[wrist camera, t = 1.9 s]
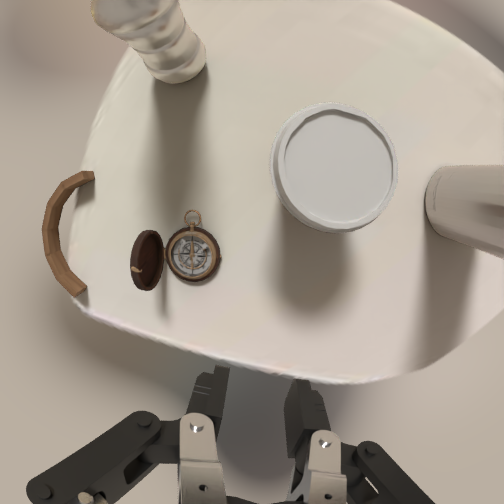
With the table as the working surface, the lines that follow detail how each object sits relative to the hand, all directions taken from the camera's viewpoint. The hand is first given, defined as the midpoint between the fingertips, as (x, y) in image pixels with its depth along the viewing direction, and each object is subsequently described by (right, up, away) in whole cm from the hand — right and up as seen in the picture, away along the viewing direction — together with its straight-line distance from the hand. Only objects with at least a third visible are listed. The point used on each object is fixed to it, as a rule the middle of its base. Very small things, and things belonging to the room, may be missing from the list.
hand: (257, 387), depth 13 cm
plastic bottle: (-8, +28, +14) cm, 32 cm away
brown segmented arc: (-24, +10, +18) cm, 31 cm away
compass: (-7, +8, +18) cm, 21 cm away
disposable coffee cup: (+6, +15, +16) cm, 23 cm away
